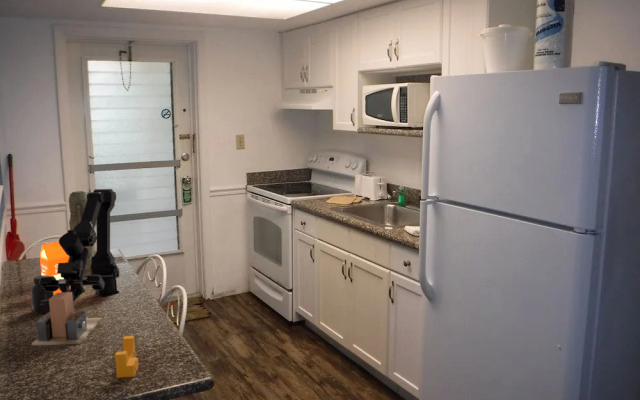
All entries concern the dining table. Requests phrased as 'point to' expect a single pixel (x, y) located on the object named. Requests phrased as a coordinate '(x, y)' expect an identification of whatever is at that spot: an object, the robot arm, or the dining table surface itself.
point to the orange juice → (52, 260)
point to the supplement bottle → (40, 297)
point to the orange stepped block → (126, 359)
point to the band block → (73, 326)
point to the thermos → (79, 219)
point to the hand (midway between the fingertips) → (66, 307)
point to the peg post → (60, 312)
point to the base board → (62, 340)
